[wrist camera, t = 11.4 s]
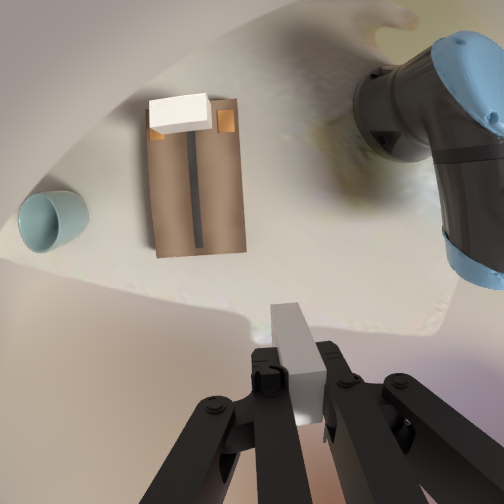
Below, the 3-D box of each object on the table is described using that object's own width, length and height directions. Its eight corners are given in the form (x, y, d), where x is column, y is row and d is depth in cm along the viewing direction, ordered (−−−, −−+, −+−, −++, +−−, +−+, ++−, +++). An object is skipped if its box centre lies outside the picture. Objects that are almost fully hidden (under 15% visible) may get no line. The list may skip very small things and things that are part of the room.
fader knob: (213, 110, 35) (205, 92, 27) (214, 132, 36) (207, 120, 28) (166, 115, 35) (149, 100, 27) (167, 137, 36) (149, 127, 28)
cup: (49, 203, 40) (11, 210, 30) (84, 180, 40) (47, 181, 30) (67, 247, 42) (31, 262, 32) (103, 226, 41) (68, 239, 32)
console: (237, 104, 38) (236, 98, 35) (246, 247, 42) (246, 252, 39) (152, 114, 38) (145, 109, 35) (162, 253, 42) (156, 258, 39)
